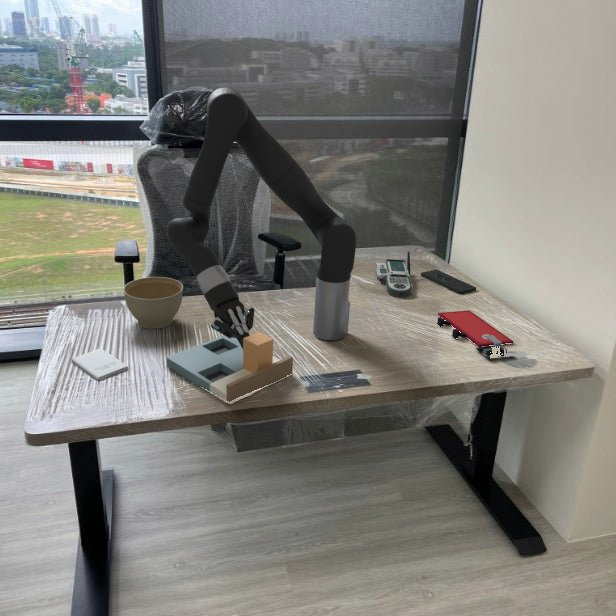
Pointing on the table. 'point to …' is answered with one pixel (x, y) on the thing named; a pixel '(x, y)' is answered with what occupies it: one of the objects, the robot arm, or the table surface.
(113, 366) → the external hard drive
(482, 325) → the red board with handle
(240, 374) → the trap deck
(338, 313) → the robot arm
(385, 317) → the table surface
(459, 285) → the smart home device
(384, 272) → the communication device
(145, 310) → the planter bowl
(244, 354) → the orange block
